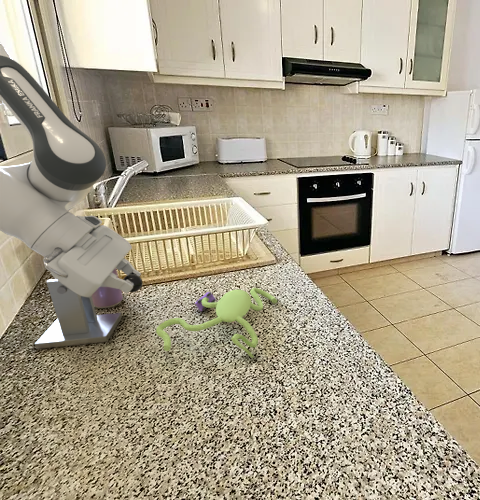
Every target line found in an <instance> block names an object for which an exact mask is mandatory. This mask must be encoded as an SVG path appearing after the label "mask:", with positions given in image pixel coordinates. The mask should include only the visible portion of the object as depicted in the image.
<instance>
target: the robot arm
mask: <svg viewBox="0 0 480 500" xmlns="http://www.w3.org/2000/svg"><path fill="white" fill-rule="evenodd" d="M0 105H4V106H5V107H6V108H7V110H9V112H10V113H11V114H12V115H13V116H14V118H15V119H16V120H17V121H18V122H19V124H20V125H21V126H22V128H24V130H25V131H26V132H27V133H28V135H29V136H30V139H31V142H32V159H31V161H30V162H26V163H22V164H16V165H9V166H7V165H5V166H0V232H1V233H4V234H6V235H8V236H11V237H13V238H16V239H18V240H20V241H21V242H22V243H24V245H26V247H27V248H28V249H30V250H31V251H33V252H35V253H37V254H38V255H40V256H42V257H43V258H42V262H43V265H44V268H45V269H46V270H47V271H49V272H50V274H51V276H52V277H53V279H57V280H58V281H59V282H60V283H62V284H63V285H65V286H66V287H67V288H69V289H70V290H72V291H73V292H75V293H77V294H78V295H80V296H83V297H91V296H92V295H93V293H94V292H95V291H96V290H97V289H98V288H99V287H100V286H101V285H102V283H103V284H104V285H106V286H107V287H111V288H116V289H120V290H121V291H122V293H125V294H129V293H131V292H130V291H131V290H132V288H133V287H134V283H132V282H131V281H129V280H128V279H127V280H126V281H125V280H123V279H122V278H119V277H118V278H117V275H115V274H114V273H112V271H113V270H114V269H115V268H116V269H117V271H120V272H121V271H122V272H123V273H124V274H125V275H126V276H127V275H130V274H135V275H138V276H139V277H142V273H141V272H140V271H139V270H137V269H135V267H134V266H133V264H132V263H131V262H130V260H127V259H126V258H125V257H126V256H127V255H128V254H129V253H130V252H131V250H132V249H133V246H132V245H131V243H130V242H129V241H128V240H127V239H126V238H124V236H122V235H121V234H119V233H118V232H116V231H115V230H113V229H112V228H110V227H109V226H107V225H103V221H102V220H101V218H99V217H97V216H95V215H76V214H73V213H72V212H71V210H72V209H73V208H75V207H77V206H79V205H80V204H81V203H83V202H84V201H85V199H86V197H87V195H88V194H89V193H90V192H91V190H92V188H93V187H94V185H95V184H96V183H97V182H98V181H99V180H100V179H101V178H102V176H103V175H104V173H105V171H106V168H107V160H106V156H105V153H104V152H103V150H102V148H101V147H100V146H99V144H98V143H97V142H95V141H94V140H93V139H92V138H91V137H90V136H88V135H87V134H86V133H85V132H84V131H82V130H81V129H79V128H78V127H77V126H76V125H75V124H74V123H73V122H72V121H71V120H70V119H69V118H68V117H67V116H66V115H65V113H64V112H63V111H62V110H61V109H60V108H59V106H58V105H57V104H56V103H55V102H54V100H53V99H52V98H51V97H50V95H48V93H47V92H46V91H45V90H44V89H43V87H42V86H41V85H40V84H39V83H38V82H37V80H36V79H35V78H34V76H33V75H32V74H31V73H30V72H29V71H27V70H26V68H25V67H24V66H23V65H21V64H20V63H19V62H18V61H16V60H14V59H13V58H12V56H11V55H10V54H9V52H8V51H7V49H6V48H5V46H4V45H3V44H2V42H0Z"/></svg>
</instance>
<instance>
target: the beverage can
mask: <svg viewBox="0 0 480 500" xmlns="http://www.w3.org/2000/svg"><path fill="white" fill-rule="evenodd" d="M112 273H114V274H115V275H117V278H119V273H118V269H116V268H115V269H114V270H113V271H112ZM123 297H124V296H123V291H122V290H120V289H116V288H111V287H99V288H98V289H97V290H96V291H95V292H94V293H93V295H92V300H93V304H94V307H95V308H98V309H109V308H113V307H115V306H117V305H119V304H121V302H122V301H123V299H124V298H123Z"/></svg>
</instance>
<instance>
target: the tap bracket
mask: <svg viewBox="0 0 480 500" xmlns="http://www.w3.org/2000/svg"><path fill="white" fill-rule="evenodd" d="M46 285H47V289H48V291H49V295H50V299H51V301H52V304H53V308H54V312H55V314H56V318H57V319H56V320H54V322H53V323H52V324H51V325H50V326H49V327H48V328H47V330H45V332H44V333H43V334H41V336H40V337H39V338H38V339H37V341H36V342H35V343H34V347H35V349H36V350H40V349H41V350H42V349H49V348H60V347H68V346H70V347H71V346H78V345H87V344H98V343H106V342H107V343H108V341H109V340H110V338H111V336H112V335H113V333H114V331H115V330H116V328H117V327H118V325H119V323H120V322H121V320H122V318H123V316H122V315H123V314H122V313H121V312H117V313H116V312H115V313H105V314H97V311H96V307H95V306H94V304H93V300H92V296H91V297H83V296H80V295H78V294H77V293H75V292H73V291H72V290H70V289H69V288H67V287H66V286H65V285H63V284H62V283H60V282H59V281H58V280H57V279H55V278H52V279H48V280H47V281H46Z"/></svg>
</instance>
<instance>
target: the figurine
mask: <svg viewBox="0 0 480 500" xmlns="http://www.w3.org/2000/svg"><path fill="white" fill-rule="evenodd" d="M249 293H250V294H249ZM249 293H248V292H247V291H245V290H243V289H232V290H229V291H227V292H225V293H224V294H223V295H222V296H221V297H220V298H219V300H218V301H217V298H216V297H215V296H214V295H213V292H211V291H207V292H206V293H205V294H204V295H202V296H201V297H200V298H199V299H198V300H196V301H195V302H194V305H195V306H196V307H197V309H198V310H199V311H200V312H202V311H205V310H207V308H208V309H215V314H216V316H217V317H215V318H212V319H210V320H208V321H205V322H203V323H200V324H189V323H188V322H187V321H186V320H185V319H183V318H181V317H174V318H169V319H167V320H165V321H163V322H162V323H160V324H159V325H158V326H156V329H155V333H156V335H157V336H158V337H159V338H161V339H162V341H163V347H162V349H163V350H164V351H165V352H170V351H171V346H172V339H171V337H170V335H169V333H167V332H166V331H165V329H166V328H168V327H170V326H173V325H180V326H181V327H182V328H183V329H184V330H186V331H187V332H188V331H189V332H200V331H204V330H206V329H209V328H211V327H214V326H217V325H218V324H220V323H222V322H224V323H235V322H237V323H238V324H240V325H241V326H243V328H244V329H245V330H246V332H247V333H248V334H249V336H250V338H251V341H250V340H249V339H248V338H247V337H245V335H243V334H240V333H234V334H233V336H232V337H231V338H230V339H231V341H232V344H234V345H235V346H237V347H238V348H240V349H241V350H243V351H244V352H245V353H246V354H247V355H248V356H249V357H250V358H253V359H254V358H255V357H254V355H253V353H252V352H251V351H250V350H249V349H248V348H246V347H245V346H244V345H243V344H242V343H241V342H240V341H239V340H241V341H242V342H244V343H245V344H246V345H247V347H249V348H253V349H254V348H257V346H258V344H259V338H258V335H257V333H256V331H255V330H254V328H253V326H252V325H251V324H250V323H249V322H248V320H246V319H245V318H244V317H245V316H246V314H247V313H248V312H249V311H250V309H251V310H252V311H256V312H261V311H263V309H264V303H263V301H262V298H261V297H260V296H259V295H261V296H262V297H264V298H265V299H268V300H269V301H270V302H271V303H272V304H277V303H278V299H277V298H276V297H275V296H273V295H272V294H271V293H269V292H267V291H265V290H263V289H261V288H258V287H253V288H251V289H250V291H249ZM250 295H251V296H252V298H253V299H254V300H255V302H256V304H255V303H253V302H252V298H251V296H250Z"/></svg>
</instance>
